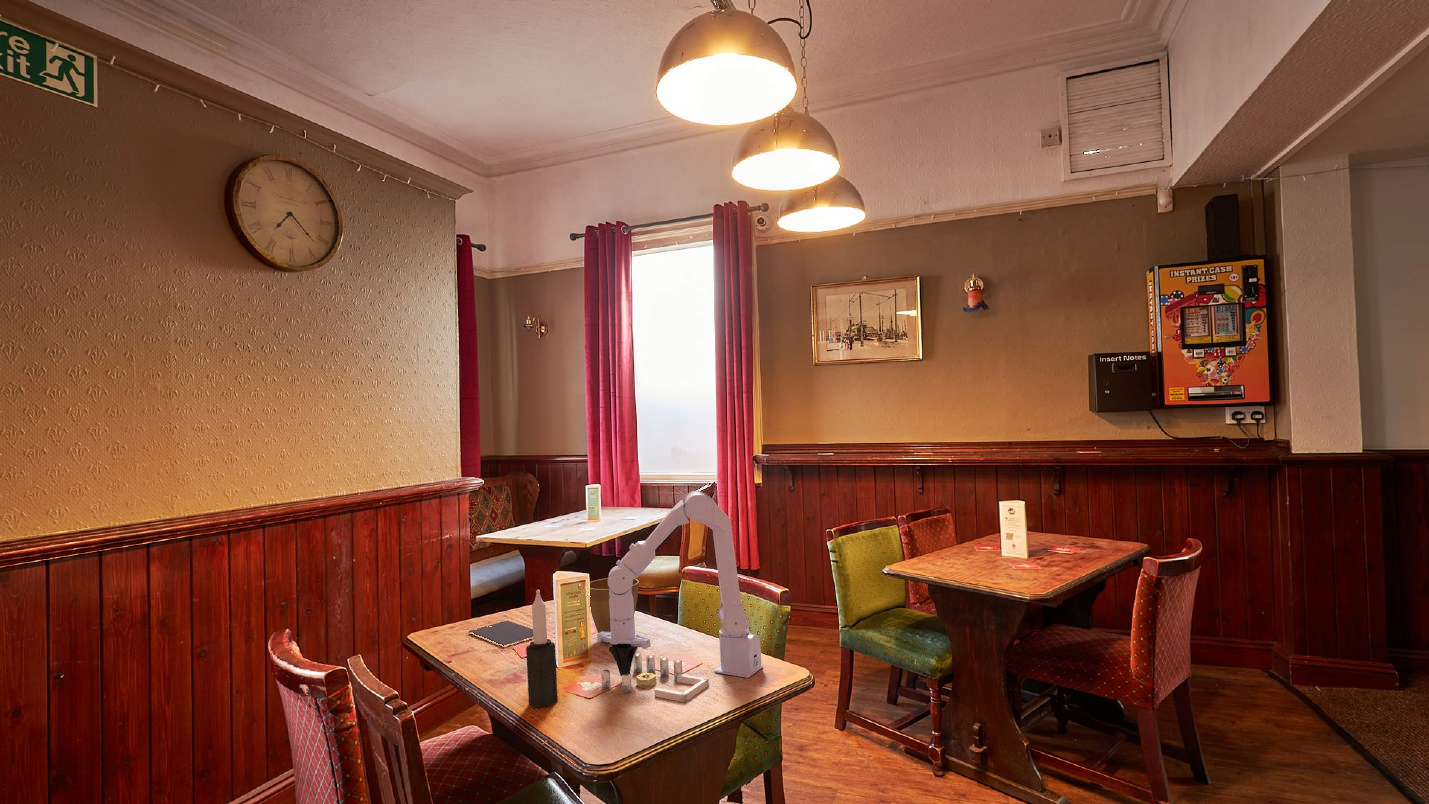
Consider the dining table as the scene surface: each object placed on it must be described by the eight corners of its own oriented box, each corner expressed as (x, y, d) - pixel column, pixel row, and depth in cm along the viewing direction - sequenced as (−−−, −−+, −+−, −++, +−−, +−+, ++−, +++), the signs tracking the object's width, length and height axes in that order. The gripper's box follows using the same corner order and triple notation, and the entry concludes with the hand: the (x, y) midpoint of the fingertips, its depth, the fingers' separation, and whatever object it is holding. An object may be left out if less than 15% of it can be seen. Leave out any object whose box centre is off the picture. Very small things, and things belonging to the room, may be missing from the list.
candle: (543, 709, 150) (537, 593, 151) (526, 705, 153) (521, 591, 153) (560, 700, 154) (554, 588, 155) (543, 696, 157) (538, 586, 158)
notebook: (468, 635, 208) (504, 650, 193) (468, 630, 208) (503, 644, 193) (507, 625, 217) (544, 638, 202) (507, 620, 217) (543, 632, 202)
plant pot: (638, 647, 188) (635, 587, 188) (583, 649, 188) (580, 590, 188) (644, 630, 203) (641, 575, 203) (593, 632, 203) (591, 577, 203)
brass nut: (659, 682, 162) (658, 673, 162) (647, 689, 158) (647, 680, 158) (645, 680, 164) (645, 671, 164) (633, 687, 160) (633, 678, 160)
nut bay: (708, 685, 158) (708, 678, 158) (684, 702, 150) (684, 695, 150) (679, 680, 163) (679, 673, 163) (654, 696, 154) (654, 689, 154)
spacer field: (684, 677, 164) (683, 660, 164) (649, 699, 152) (648, 681, 152) (637, 668, 171) (636, 652, 172) (600, 689, 159) (599, 672, 160)
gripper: (587, 619, 165) (590, 676, 165) (636, 625, 158) (639, 685, 157) (606, 611, 171) (609, 666, 171) (654, 617, 164) (657, 674, 163)
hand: (625, 675), depth 165 cm, fingers closed
